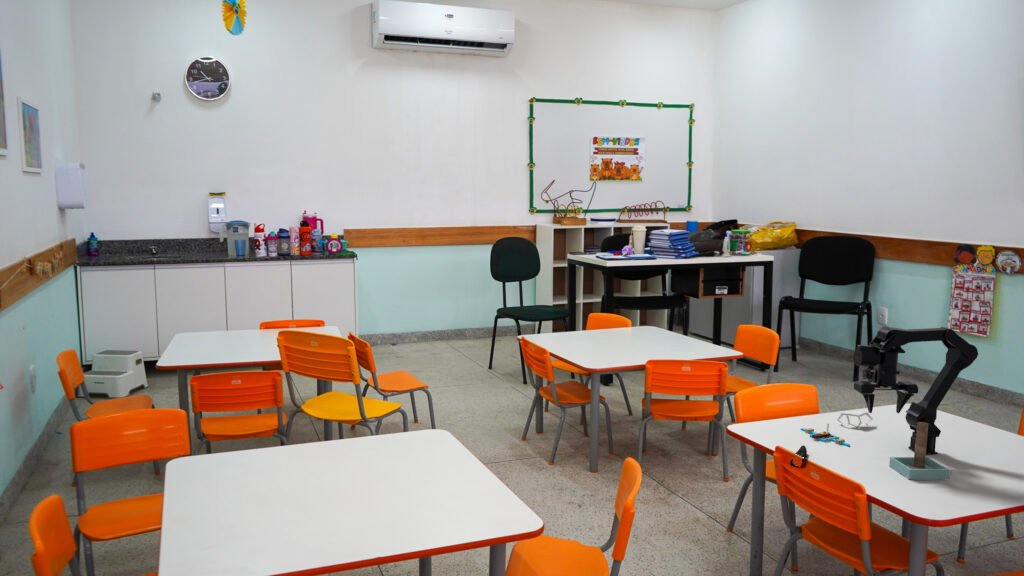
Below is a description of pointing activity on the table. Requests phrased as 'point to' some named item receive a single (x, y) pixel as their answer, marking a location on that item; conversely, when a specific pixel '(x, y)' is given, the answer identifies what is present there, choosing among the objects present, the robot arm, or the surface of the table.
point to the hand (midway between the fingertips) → (883, 412)
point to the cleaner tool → (920, 447)
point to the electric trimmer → (800, 454)
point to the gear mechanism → (825, 436)
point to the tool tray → (919, 474)
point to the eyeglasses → (855, 413)
